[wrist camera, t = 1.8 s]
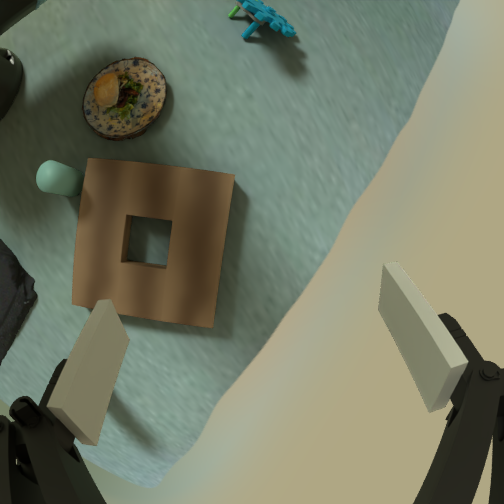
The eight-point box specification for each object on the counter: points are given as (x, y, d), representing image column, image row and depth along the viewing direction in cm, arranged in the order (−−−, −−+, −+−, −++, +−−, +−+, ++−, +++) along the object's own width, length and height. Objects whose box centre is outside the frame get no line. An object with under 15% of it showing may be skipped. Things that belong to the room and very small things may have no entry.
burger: (157, 145, 37) (146, 128, 30) (76, 138, 36) (52, 123, 28) (177, 64, 37) (172, 36, 29) (99, 62, 35) (83, 37, 28)
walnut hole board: (80, 299, 37) (71, 304, 34) (96, 162, 36) (88, 157, 33) (212, 320, 40) (212, 328, 37) (233, 178, 39) (235, 174, 36)
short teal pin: (59, 195, 36) (33, 190, 29) (64, 168, 36) (39, 159, 29) (82, 197, 36) (58, 193, 29) (86, 170, 36) (64, 160, 29)
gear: (309, 37, 36) (274, 21, 29) (282, 62, 40) (243, 54, 33) (264, -5, 36) (223, -23, 29) (240, 20, 40) (198, 8, 33)
